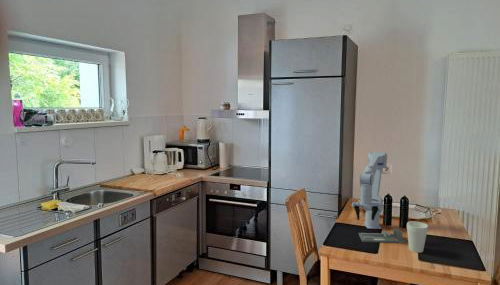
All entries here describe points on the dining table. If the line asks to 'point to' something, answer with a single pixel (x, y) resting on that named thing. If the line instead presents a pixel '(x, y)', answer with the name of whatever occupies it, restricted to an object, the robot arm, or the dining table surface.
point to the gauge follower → (385, 234)
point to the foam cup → (416, 235)
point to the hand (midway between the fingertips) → (365, 219)
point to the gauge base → (377, 237)
